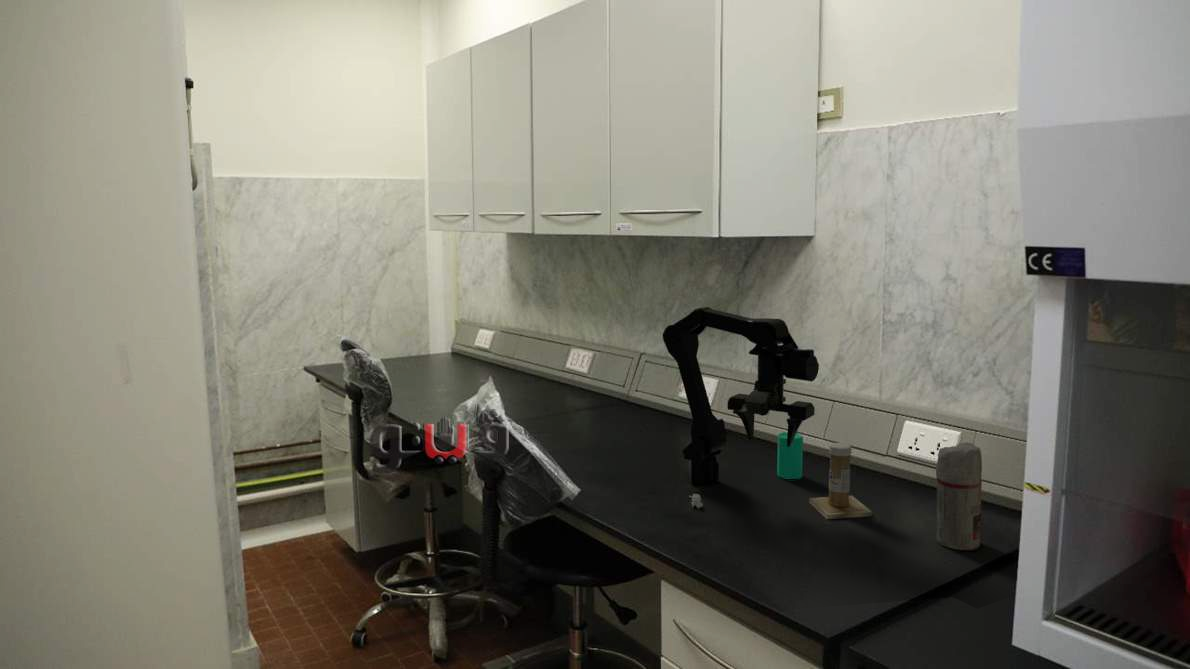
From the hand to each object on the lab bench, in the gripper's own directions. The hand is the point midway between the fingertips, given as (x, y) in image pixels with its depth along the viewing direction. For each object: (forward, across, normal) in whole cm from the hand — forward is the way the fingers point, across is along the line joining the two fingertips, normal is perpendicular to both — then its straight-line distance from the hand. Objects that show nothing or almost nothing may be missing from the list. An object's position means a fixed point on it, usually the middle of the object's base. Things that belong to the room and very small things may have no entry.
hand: (769, 443), depth 182 cm
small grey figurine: (+14, -12, -15) cm, 23 cm away
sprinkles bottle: (+12, +15, +2) cm, 20 cm away
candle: (+13, -2, +17) cm, 22 cm away
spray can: (+13, +41, -3) cm, 43 cm away
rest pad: (+13, +16, +2) cm, 20 cm away
